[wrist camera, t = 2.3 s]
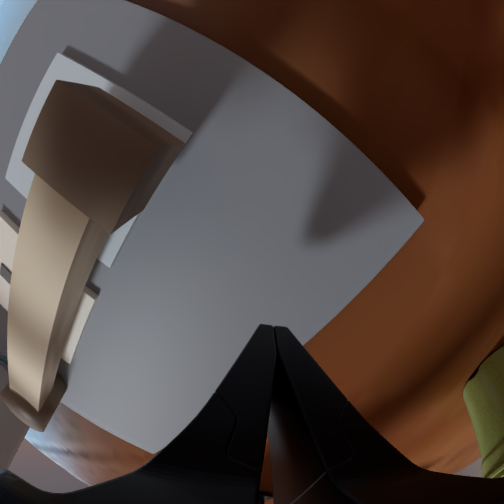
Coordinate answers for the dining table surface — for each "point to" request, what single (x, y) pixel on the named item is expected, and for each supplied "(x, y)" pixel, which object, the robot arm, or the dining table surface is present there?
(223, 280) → the panel
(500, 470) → the plant pot
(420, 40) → the dining table surface
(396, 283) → the dining table surface
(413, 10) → the dining table surface
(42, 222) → the bar
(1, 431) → the can
